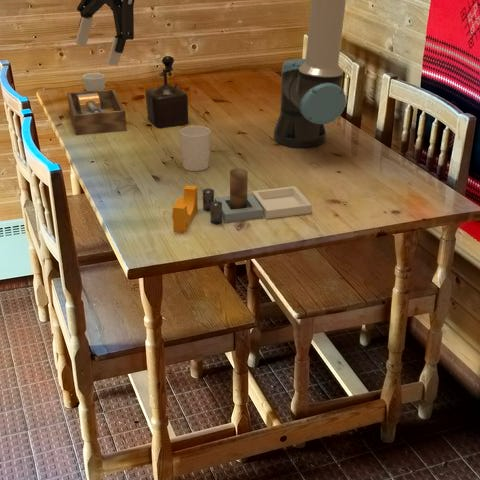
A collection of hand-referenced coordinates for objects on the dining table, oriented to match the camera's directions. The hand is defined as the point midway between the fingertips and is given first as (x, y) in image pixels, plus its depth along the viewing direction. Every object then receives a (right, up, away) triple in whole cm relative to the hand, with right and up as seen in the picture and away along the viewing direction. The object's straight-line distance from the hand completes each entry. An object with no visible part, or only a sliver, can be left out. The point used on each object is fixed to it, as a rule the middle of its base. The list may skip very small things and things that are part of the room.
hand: (96, 54), depth 174 cm
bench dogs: (+28, -39, -7) cm, 49 cm away
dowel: (+34, -38, -5) cm, 51 cm away
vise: (-11, -8, +51) cm, 53 cm away
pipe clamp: (+21, -41, -9) cm, 47 cm away
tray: (+44, -37, -3) cm, 58 cm away
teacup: (-16, +7, +79) cm, 81 cm away
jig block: (+34, -38, -5) cm, 52 cm away
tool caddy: (-10, -7, +51) cm, 52 cm away
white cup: (+23, -25, +19) cm, 39 cm away
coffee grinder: (+11, -7, +53) cm, 55 cm away
